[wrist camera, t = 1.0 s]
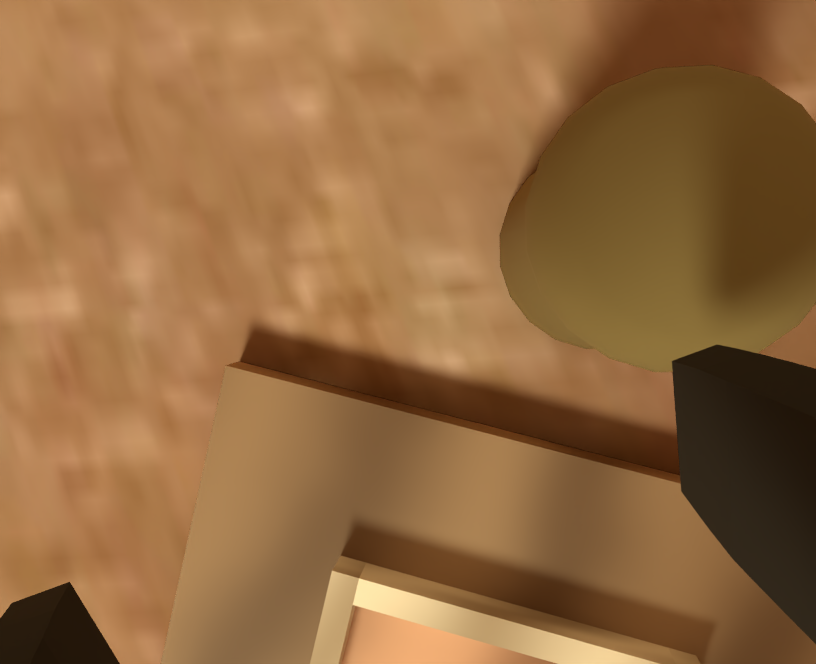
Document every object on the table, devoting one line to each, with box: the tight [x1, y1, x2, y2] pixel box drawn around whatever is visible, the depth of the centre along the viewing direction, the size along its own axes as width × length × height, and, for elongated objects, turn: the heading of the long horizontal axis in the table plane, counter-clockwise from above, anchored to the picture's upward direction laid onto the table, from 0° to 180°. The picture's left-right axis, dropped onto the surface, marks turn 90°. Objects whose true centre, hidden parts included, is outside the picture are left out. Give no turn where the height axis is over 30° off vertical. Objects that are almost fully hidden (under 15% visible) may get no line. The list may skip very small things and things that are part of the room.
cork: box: [500, 65, 816, 372], centre depth 17 cm, size 6×6×11 cm
